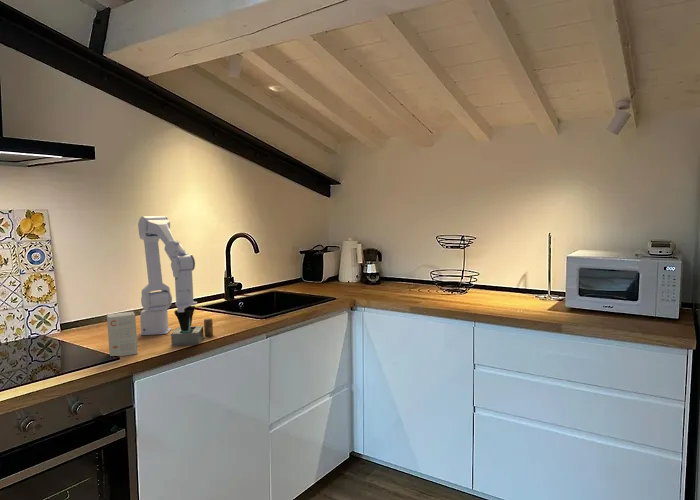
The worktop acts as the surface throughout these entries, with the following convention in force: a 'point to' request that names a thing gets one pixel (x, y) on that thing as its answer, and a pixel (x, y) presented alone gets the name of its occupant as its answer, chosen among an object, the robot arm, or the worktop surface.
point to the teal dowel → (188, 329)
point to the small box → (122, 334)
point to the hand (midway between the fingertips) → (186, 328)
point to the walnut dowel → (208, 327)
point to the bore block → (187, 336)
